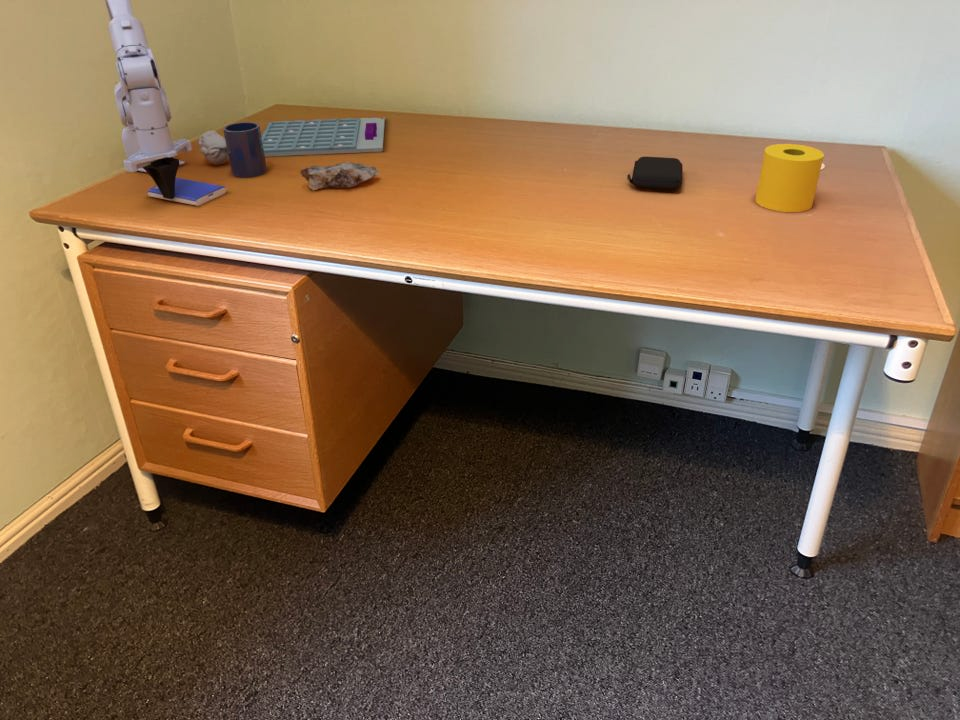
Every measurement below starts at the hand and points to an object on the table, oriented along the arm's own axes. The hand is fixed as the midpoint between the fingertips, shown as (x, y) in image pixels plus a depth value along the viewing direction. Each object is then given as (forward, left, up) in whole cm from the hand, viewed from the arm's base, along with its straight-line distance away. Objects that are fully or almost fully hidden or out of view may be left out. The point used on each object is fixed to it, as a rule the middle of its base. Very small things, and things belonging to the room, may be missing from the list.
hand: (169, 197), depth 144 cm
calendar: (+1, +48, -1) cm, 48 cm away
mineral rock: (+24, +22, -1) cm, 33 cm away
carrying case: (+81, +49, -1) cm, 95 cm away
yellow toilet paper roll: (+106, +47, -1) cm, 116 cm away
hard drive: (0, +5, -1) cm, 5 cm away
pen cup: (+2, +21, -1) cm, 21 cm away
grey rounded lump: (-8, +22, -1) cm, 23 cm away
